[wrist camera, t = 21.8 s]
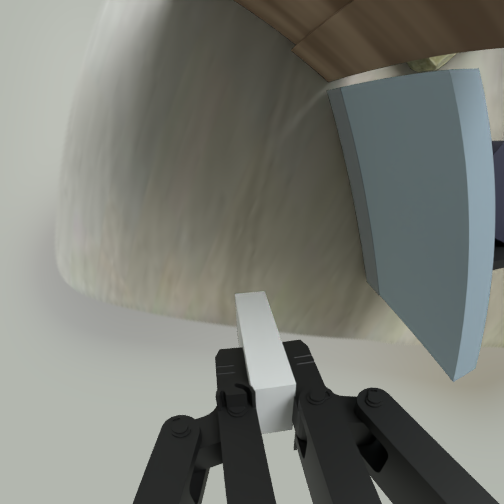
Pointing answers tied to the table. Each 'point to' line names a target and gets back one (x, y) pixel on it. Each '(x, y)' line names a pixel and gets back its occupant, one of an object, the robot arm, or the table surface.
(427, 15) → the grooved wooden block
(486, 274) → the light blue flat panel
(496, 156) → the speaker
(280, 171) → the table surface
